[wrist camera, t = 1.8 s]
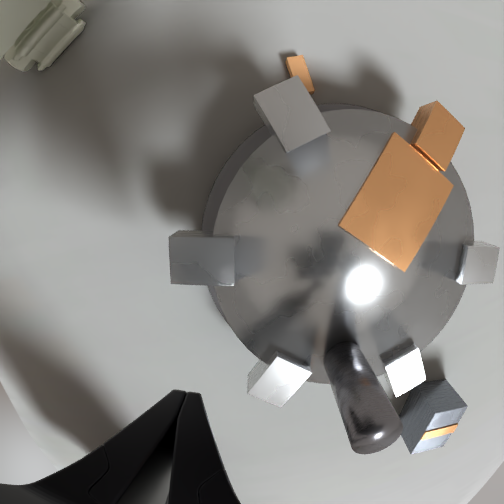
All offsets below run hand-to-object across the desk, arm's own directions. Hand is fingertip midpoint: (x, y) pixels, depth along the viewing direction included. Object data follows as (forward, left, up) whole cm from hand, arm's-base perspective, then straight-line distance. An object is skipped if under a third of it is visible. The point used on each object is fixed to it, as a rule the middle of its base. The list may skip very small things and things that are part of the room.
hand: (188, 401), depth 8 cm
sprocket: (+4, -6, -6) cm, 9 cm away
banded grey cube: (-7, -15, -8) cm, 18 cm away
